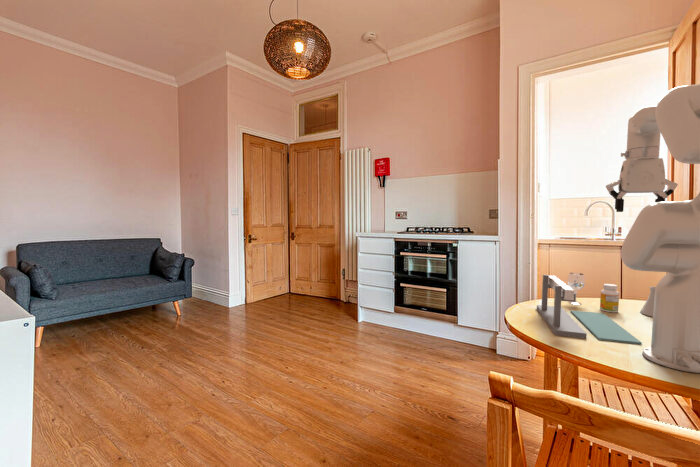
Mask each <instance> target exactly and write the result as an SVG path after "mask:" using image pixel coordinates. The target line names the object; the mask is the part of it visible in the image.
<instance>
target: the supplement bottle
mask: <svg viewBox="0 0 700 467" xmlns="http://www.w3.org/2000/svg"><path fill="white" fill-rule="evenodd" d="M617 290H618V285H617V284H613V283H604V284H603V289H601V290H600V303H599V304H600V306H599V310H601V311H603V312H606V313H618V312H619V305H620V304H619V301H620V292H619V291H617Z"/></svg>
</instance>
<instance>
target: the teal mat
mask: <svg viewBox="0 0 700 467" xmlns="http://www.w3.org/2000/svg"><path fill="white" fill-rule="evenodd" d="M570 313H571V314H572V315H573V316H574V317H575V318H576V319H577V320H578V321H579V322H580V324H582V325H583V326H584V327H585V328H586V329H587V330H588V331H589V332H590V333H591V334H592V335H593V336H594V337H595V338H596V339H597V340H598V341H606V342H613V343H615V342H616V343H621V344H622V343H624V344H632V345H633V344H634V345H643V344H642V343H643V342H641V340H639V339H638V338H636V337H635V336H634V335H633V334H631V333H630V332H629V331H627V330H626V329H625V328H624V327H622V326H621V325H619V324H618V323H617V322H615V321H614V320H613V319H612V318H610V317H609V316H608V315H606V314H605V313H604V312H596V311H595V312H591V311H583V310H570Z"/></svg>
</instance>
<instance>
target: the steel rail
mask: <svg viewBox="0 0 700 467" xmlns="http://www.w3.org/2000/svg"><path fill="white" fill-rule="evenodd" d="M547 275H548V285H549V286H550V287H551V288H550V289H552V290H554V291H555V285H561V286H562V294H561V297H562V298H563V299H564V300H574V291H575V289H572V288H570V287H569V286H568V284H567V283H566V282H564V281H563V280H561V279H560V278H559V277H558V276H556V275H553V274H547Z"/></svg>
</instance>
